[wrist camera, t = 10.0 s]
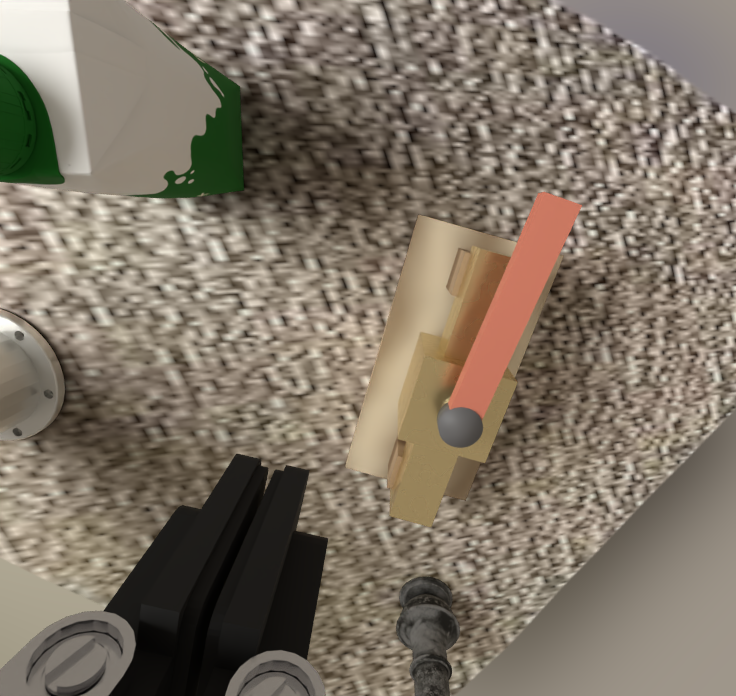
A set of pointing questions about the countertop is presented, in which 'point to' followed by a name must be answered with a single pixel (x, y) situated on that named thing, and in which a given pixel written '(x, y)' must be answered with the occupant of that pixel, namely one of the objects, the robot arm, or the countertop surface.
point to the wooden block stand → (445, 395)
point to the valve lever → (506, 318)
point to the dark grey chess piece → (428, 633)
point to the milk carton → (111, 105)
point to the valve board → (405, 321)
